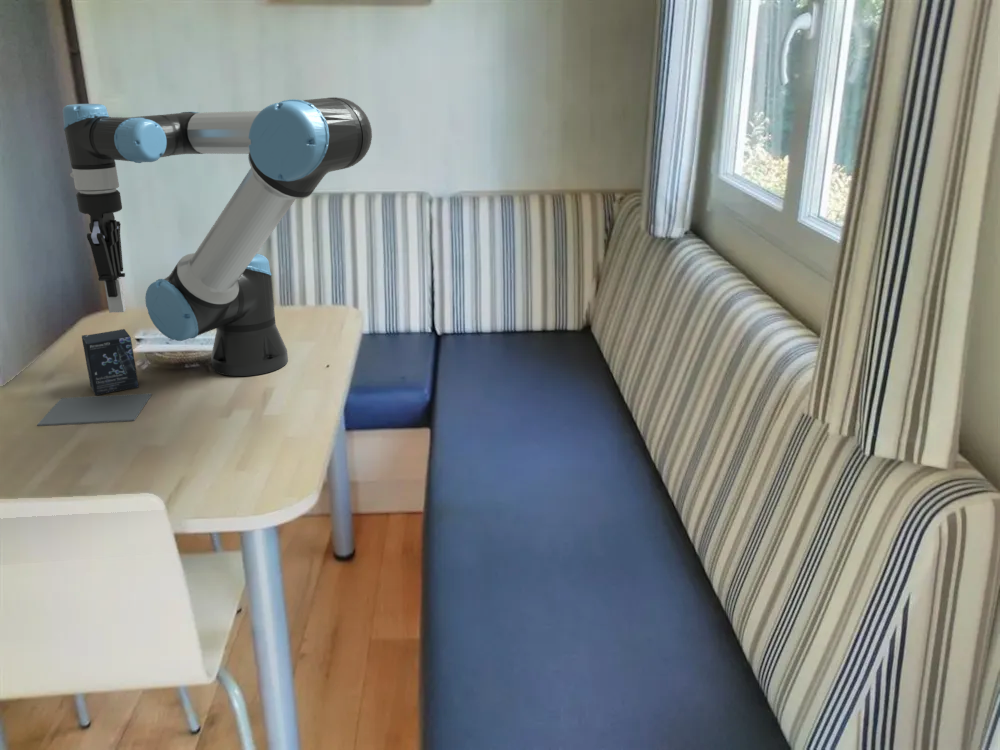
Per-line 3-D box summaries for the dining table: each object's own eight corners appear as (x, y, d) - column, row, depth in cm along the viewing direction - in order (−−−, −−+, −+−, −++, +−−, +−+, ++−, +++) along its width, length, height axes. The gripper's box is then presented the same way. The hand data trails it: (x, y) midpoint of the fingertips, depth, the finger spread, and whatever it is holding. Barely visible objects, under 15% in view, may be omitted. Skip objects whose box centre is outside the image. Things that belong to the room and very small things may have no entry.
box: (95, 396, 159) (85, 343, 155) (90, 387, 163) (80, 335, 159) (139, 388, 163) (131, 335, 159) (133, 379, 167) (124, 328, 163)
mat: (151, 395, 159) (151, 393, 159) (134, 420, 148) (133, 419, 148) (61, 399, 157) (61, 397, 157) (37, 426, 146) (37, 424, 146)
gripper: (87, 185, 164) (107, 302, 173) (64, 196, 152) (86, 321, 161) (128, 184, 165) (145, 301, 174) (108, 195, 153) (128, 320, 162)
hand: (117, 311), depth 167 cm, fingers closed
